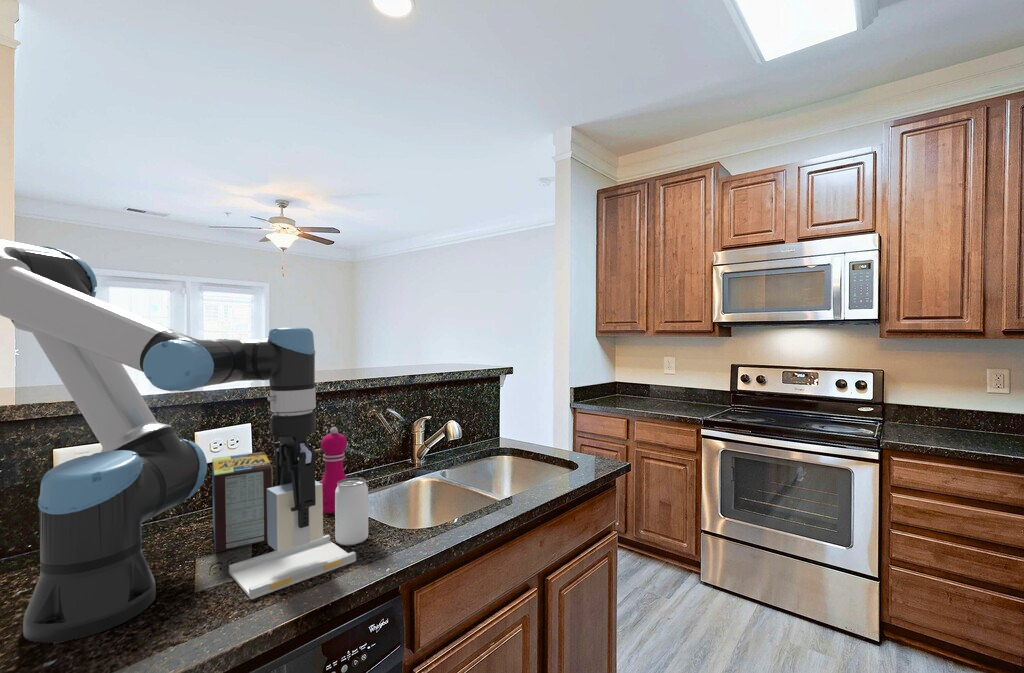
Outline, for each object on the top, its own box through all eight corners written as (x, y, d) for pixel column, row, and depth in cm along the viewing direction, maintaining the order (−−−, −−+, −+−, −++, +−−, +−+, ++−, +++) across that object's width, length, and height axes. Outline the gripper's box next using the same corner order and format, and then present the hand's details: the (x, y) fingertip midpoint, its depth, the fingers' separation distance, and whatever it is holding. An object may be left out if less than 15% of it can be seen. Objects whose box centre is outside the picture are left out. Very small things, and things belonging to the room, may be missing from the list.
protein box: (265, 517, 111) (264, 450, 111) (273, 540, 98) (273, 465, 98) (212, 527, 105) (211, 457, 105) (213, 553, 92) (213, 474, 92)
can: (358, 547, 95) (357, 487, 95) (328, 545, 96) (328, 485, 96) (374, 534, 101) (373, 478, 101) (346, 532, 102) (345, 476, 102)
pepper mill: (313, 508, 116) (313, 426, 116) (342, 501, 121) (342, 423, 121) (325, 516, 111) (324, 431, 111) (354, 508, 116) (354, 427, 116)
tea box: (277, 552, 82) (276, 494, 82) (267, 543, 86) (266, 488, 86) (323, 537, 88) (322, 483, 88) (311, 530, 91) (311, 478, 91)
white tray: (251, 600, 76) (251, 590, 76) (229, 573, 85) (229, 565, 85) (356, 561, 89) (356, 553, 89) (327, 541, 97) (327, 534, 97)
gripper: (254, 409, 90) (256, 531, 90) (291, 420, 78) (293, 562, 78) (295, 405, 96) (296, 520, 96) (335, 414, 83) (337, 547, 83)
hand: (295, 539), depth 87 cm, fingers closed on tea box, 5 cm apart
